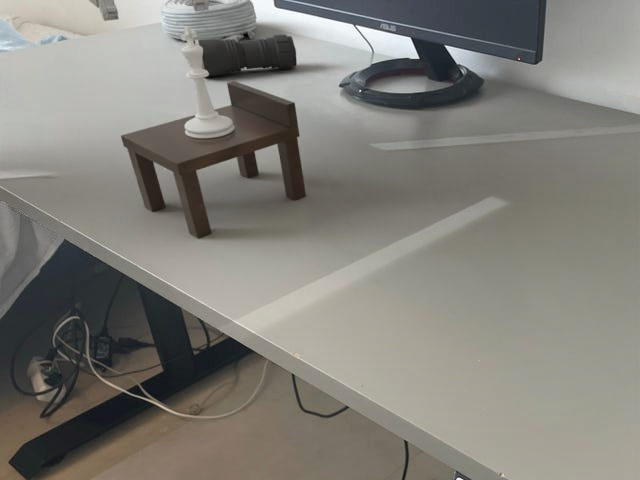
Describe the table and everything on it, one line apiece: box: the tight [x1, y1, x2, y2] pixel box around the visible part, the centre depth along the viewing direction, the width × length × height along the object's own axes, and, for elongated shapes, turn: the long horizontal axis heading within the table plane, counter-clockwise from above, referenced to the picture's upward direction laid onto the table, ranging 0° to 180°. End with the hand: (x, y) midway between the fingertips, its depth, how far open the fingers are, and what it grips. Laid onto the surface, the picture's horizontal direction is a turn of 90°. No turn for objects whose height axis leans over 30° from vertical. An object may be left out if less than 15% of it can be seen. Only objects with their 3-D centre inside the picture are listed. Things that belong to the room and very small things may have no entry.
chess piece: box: [180, 26, 235, 139], centre depth 71 cm, size 5×5×10 cm
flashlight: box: [194, 34, 298, 78], centre depth 116 cm, size 15×5×5 cm, turn 112°
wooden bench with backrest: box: [120, 80, 307, 239], centre depth 76 cm, size 14×11×10 cm
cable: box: [160, 0, 257, 43], centre depth 136 cm, size 18×18×6 cm
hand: (157, 12), depth 77 cm, fingers open, 8 cm apart
